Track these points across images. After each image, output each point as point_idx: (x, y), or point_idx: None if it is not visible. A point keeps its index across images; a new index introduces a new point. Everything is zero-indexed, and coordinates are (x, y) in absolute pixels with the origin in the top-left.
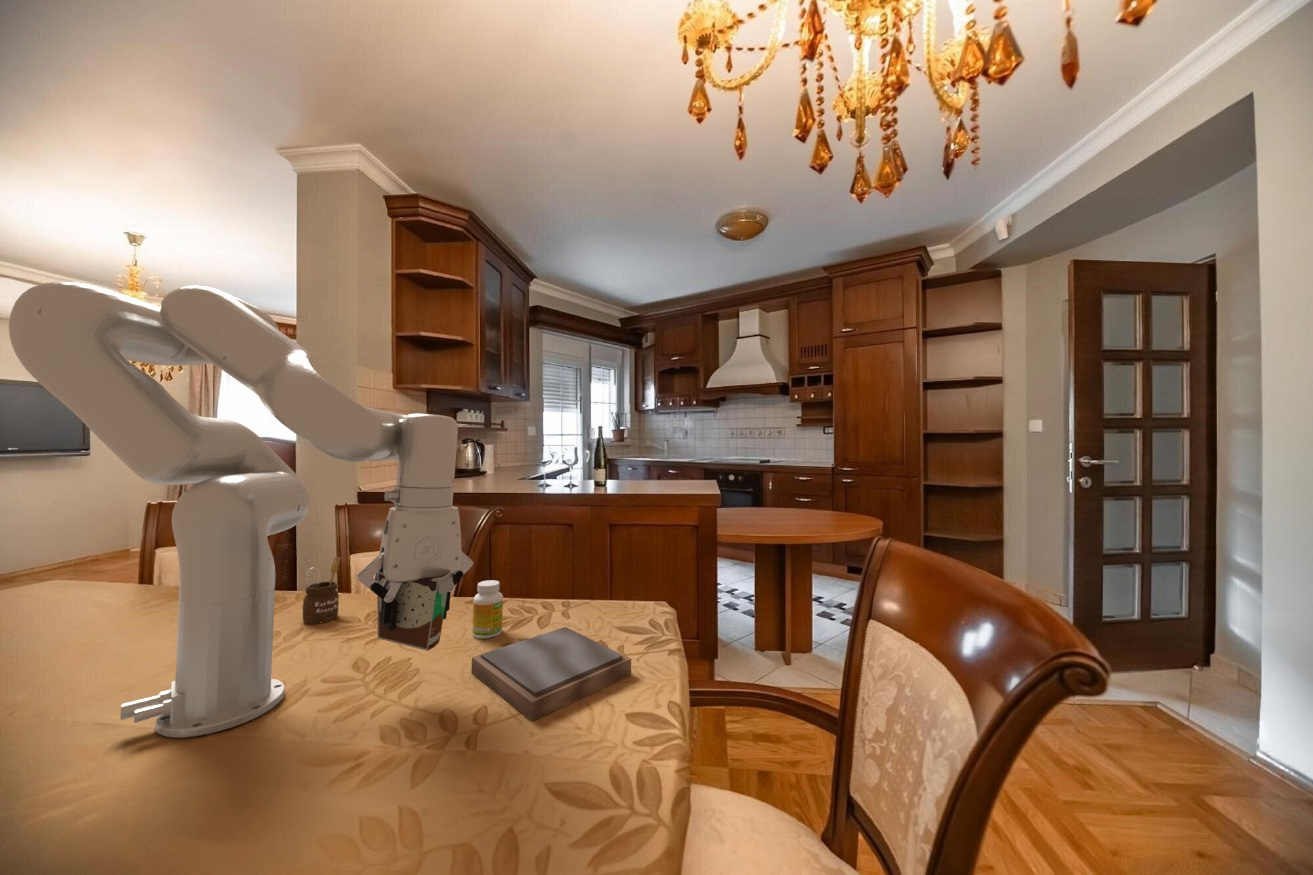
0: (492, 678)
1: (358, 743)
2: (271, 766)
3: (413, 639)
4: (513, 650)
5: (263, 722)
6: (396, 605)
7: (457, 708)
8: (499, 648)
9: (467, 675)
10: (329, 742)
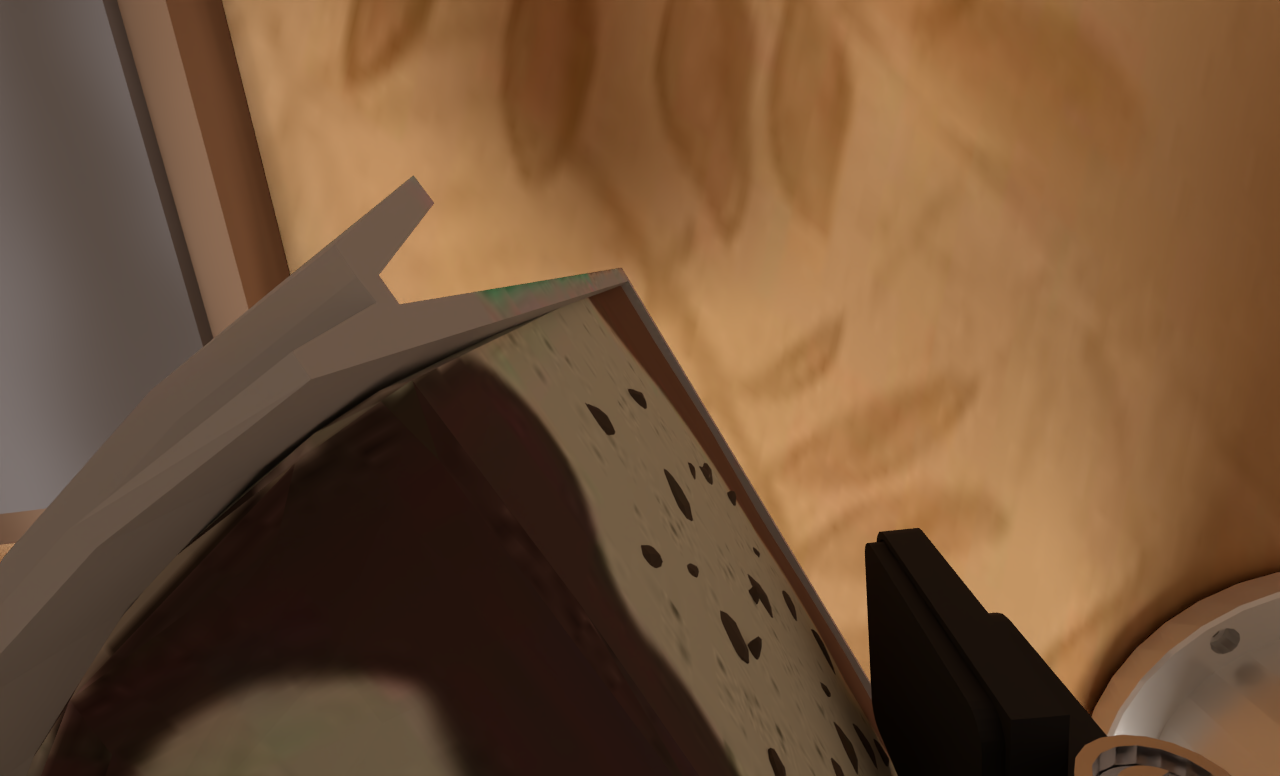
0: (245, 227)
1: (934, 128)
2: (1232, 177)
3: (707, 428)
4: (33, 417)
5: (1182, 553)
6: (986, 679)
7: (483, 148)
8: None
9: None
10: (1025, 221)
